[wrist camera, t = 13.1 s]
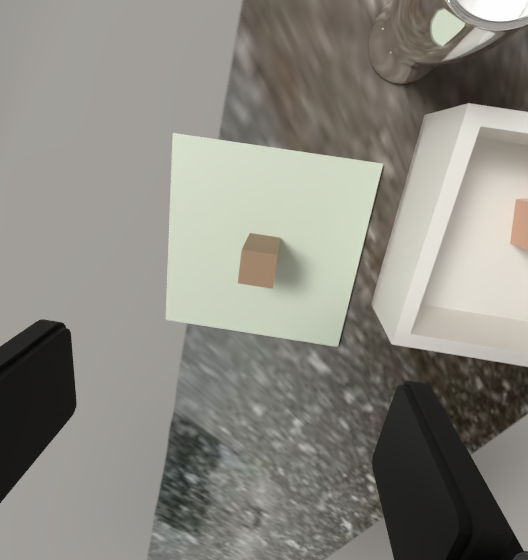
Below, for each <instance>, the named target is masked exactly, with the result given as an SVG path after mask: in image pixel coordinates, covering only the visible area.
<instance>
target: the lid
mask: <svg viewBox="0 0 528 560" xmlns="http://www.w3.org/2000/svg"><path fill="white" fill-rule="evenodd" d="M382 167H383V164H381V163H374V162H367V161H360V160H354V159H347V158H340V157H333V156H326V155H319V154H313V153H306V152H299V151H292V150H285V149H278V148H272V147H265V146H258V145H251V144H244V143H238V142H231V141H224V140H217V139H210V138H203V137H197V136H190V135H183V134H176V133H173V142H172V168H171V194H170V220H169V246H168V247H169V248H168V272H167V273H168V274H167V298H166V320H171V321H177V322H184V323H190V324H196V325H203V326H209V327H215V328H222V329H228V330H234V331H241V332H247V333H253V334H259V335H266V336H272V337H278V338H285V339H291V340H297V341H304V342H310V343H316V344H323V345H329V346H335V347H338V345H339V340H340V336H341V332H342V328H343V324H344V320H345V316H346V312H347V308H348V304H349V300H350V296H351V292H352V288H353V284H354V280H355V276H356V272H357V268H358V264H359V260H360V256H361V252H362V248H363V244H364V239H365V235H366V231H367V227H368V223H369V219H370V215H371V211H372V207H373V203H374V199H375V195H376V191H377V187H378V183H379V179H380V175H381V171H382Z"/></svg>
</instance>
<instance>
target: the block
mask: <svg viewBox="0 0 528 560" xmlns="http://www.w3.org/2000/svg"><path fill="white" fill-rule="evenodd" d="M510 243H511V244H513V245H516V246H518V247H520V248H523V249H525V250H527V251H528V198H524V199H516V201H515V209H514V217H513V225H512V233H511V241H510Z"/></svg>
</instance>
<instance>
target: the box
mask: <svg viewBox="0 0 528 560" xmlns="http://www.w3.org/2000/svg"><path fill="white" fill-rule="evenodd" d="M524 198H528V112H524V111H517V110H511V109H504V108H497V107H491V106H484V105H477V104H471V103H467V104H464V105H460V106H456V107H452V108H449V109H445V110H441V111H437V112H434V113H430V114H426V115H424V118H423V122H422V125H421V129H420V132H419V136H418V139H417V143H416V147H415V150H414V154H413V157H412V161H411V164H410V168H409V172H408V175H407V179H406V182H405V186H404V189H403V193H402V196H401V200H400V204H399V207H398V211H397V214H396V218H395V221H394V225H393V228H392V232H391V236H390V239H389V243H388V246H387V250H386V253H385V257H384V260H383V264H382V268H381V271H380V275H379V278H378V282H377V285H376V289H375V292H374V296H373V300H372V303H371V305H372V307H373V309H374V311H375V313H376V314H377V316H378V318H379V320H380V322H381V324H382V326H383V328H384V330H385V332H386V334H387V336H388V338H389V340H390V342H391V344H393V345H399V346H405V347H411V348H417V349H423V350H429V351H435V352H441V353H447V354H453V355H459V356H466V357H472V358H478V359H484V360H490V361H496V362H502V363H508V364H514V365H520V366H526V367H528V251H527V250H525V249H523V248H520V247H518V246H516V245H513V244H511V243H510V241H511V233H512V225H513V217H514V209H515V201H516V199H524Z"/></svg>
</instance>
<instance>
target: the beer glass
mask: <svg viewBox="0 0 528 560" xmlns="http://www.w3.org/2000/svg"><path fill="white" fill-rule="evenodd" d="M527 26H528V0H391V2H390V3H389V4H387V5H386V6H385V7H384V8H383V9H382V11H381V12H380V13H379V15H378V16H377V18H376V19H375V21H374V23H373V25H372V28H371V31H370V35H369V41H368V52H369V57H370V61H371V64H372V66H373V68H374V69H375V71H376V72H377V73H378V74H379V75H380V76H381V77H382V78H384V79H385V80H387V81H389V82H392V83H396V84H407V83H411V82H414V81H417V80H419V79H421V78H422V77H424V76H425V75H427V74H428V73H429V72H430V71H431V70H432V69H433V68H434V67H435V66H441V65H448V64H453V63H457V62H461V61H465V60H468V59H470V58H473V57H475V56H477V55H479V54H482V53H484V52H486V51H488V50H490V49H492V48H494V47H495V46H497V45H499V44H500V43H502V42H504V41H506V40H507V39H509V38H510V37H512V36H513V35H515V34H516V33H518V32H519V31H521V30H522V29H524V28H525V27H527Z"/></svg>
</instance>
